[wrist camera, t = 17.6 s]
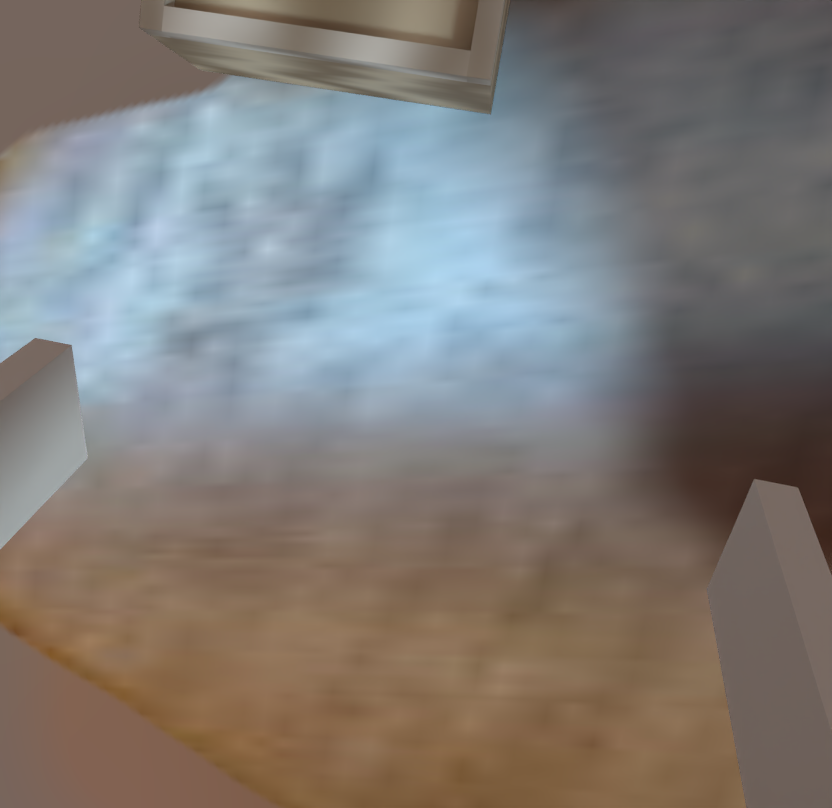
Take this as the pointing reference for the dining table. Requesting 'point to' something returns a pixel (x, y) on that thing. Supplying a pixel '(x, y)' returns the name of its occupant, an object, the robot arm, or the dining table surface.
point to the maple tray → (344, 44)
